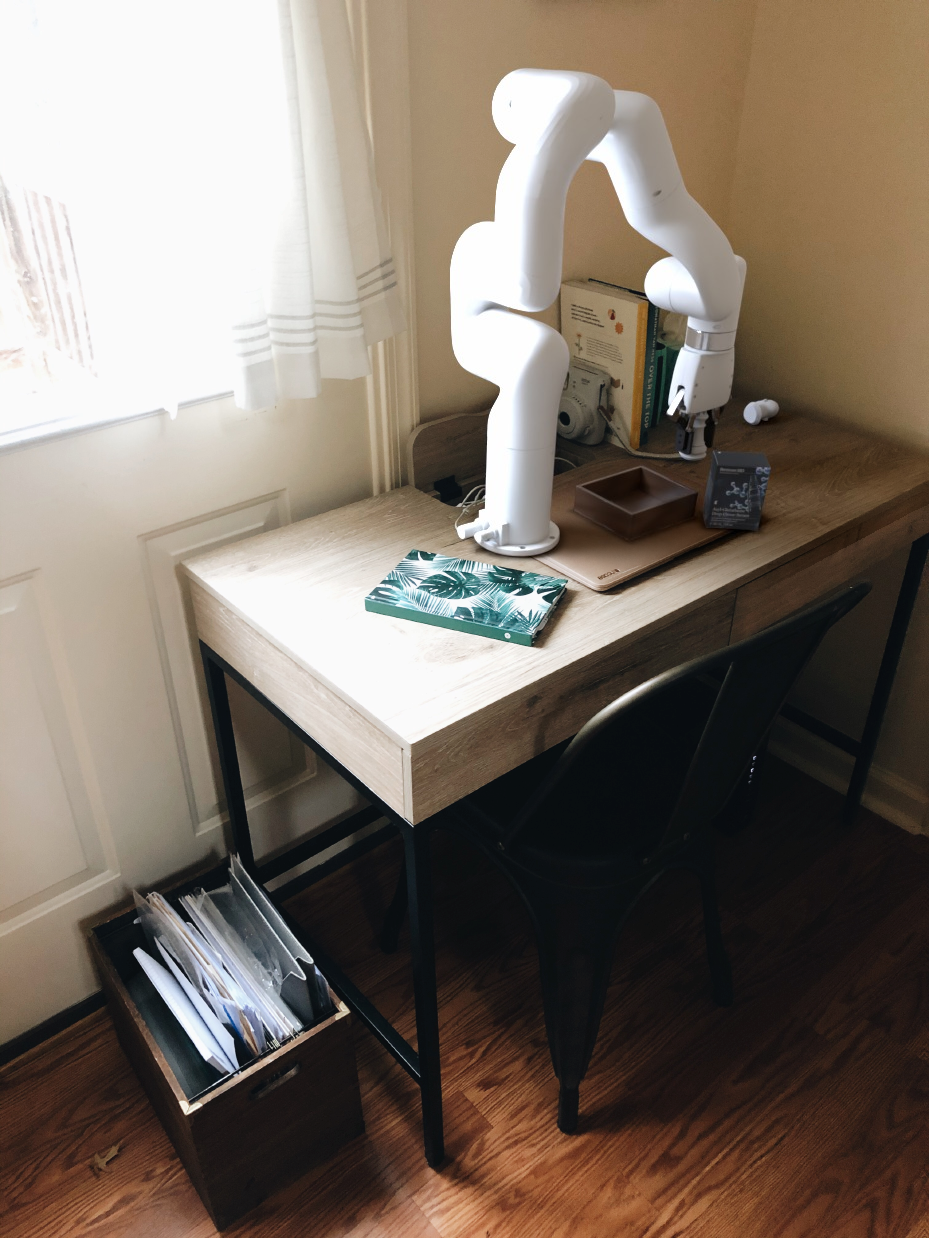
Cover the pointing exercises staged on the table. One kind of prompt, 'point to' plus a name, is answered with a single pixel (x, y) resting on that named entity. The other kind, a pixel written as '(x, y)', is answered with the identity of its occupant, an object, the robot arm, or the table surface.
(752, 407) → the smooth white sculpture
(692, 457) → the rook chess piece
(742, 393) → the table surface
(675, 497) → the tray
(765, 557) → the table surface
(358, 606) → the table surface
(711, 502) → the box
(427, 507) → the table surface
